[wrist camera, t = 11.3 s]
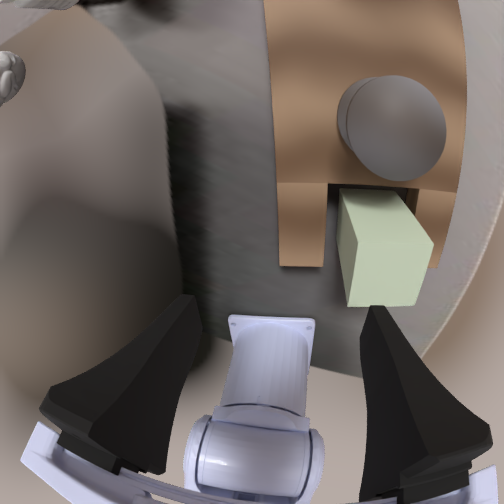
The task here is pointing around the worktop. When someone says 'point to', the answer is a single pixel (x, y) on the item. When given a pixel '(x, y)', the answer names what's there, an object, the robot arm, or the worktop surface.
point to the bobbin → (392, 126)
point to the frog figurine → (10, 75)
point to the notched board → (330, 92)
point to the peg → (380, 248)
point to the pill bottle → (43, 4)
